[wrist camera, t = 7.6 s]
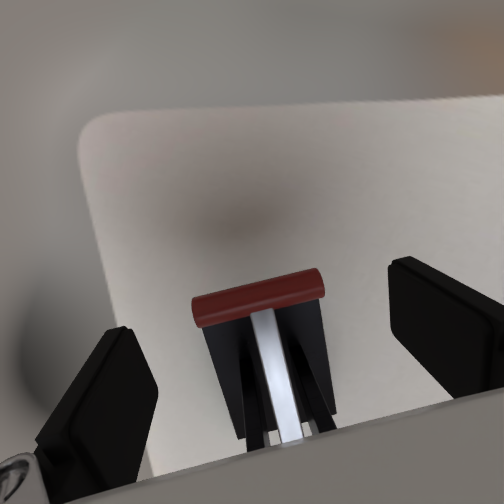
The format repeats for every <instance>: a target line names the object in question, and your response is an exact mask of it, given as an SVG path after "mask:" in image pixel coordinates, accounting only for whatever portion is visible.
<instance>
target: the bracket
mask: <svg viewBox="0 0 504 504" xmlns="http://www.w3.org/2000/svg"><path fill="white" fill-rule="evenodd" d="M274 313H275V317H276V321H277V326H278V330H279V334H280V338H281V342H282V346H283V351H284V355H285V359H286V363H287V367H288V371H289V375H290V380H291V384H292V388H293V392H294V396H295V400H296V404H297V409H298V413H299V417H300V421H301V423H304V422H308V423H309V426H310V429H311V432H312V435H316V434H320V433H324V432H327V431H331V430H335V429H337V427H336V425H335V423H334V420H333V418H332V416H331V415H335V414H337V412H336V405H335V399H334V393H333V386H332V380H331V374H330V367H329V361H328V355H327V348H326V342H325V336H324V329H323V323H322V317H321V310H320V304H319V299H315V300H311V301H307V302H303V303H299V304H295V305H291V306H287V307H283V308H279V309H275V310H274ZM202 330H203V333H204V336H205V340H206V343H207V346H208V349H209V352H210V355H211V358H212V361H213V364H214V367H215V370H216V373H217V377H218V380H219V383H220V386H221V389H222V392H223V395H224V398H225V401H226V404H227V407H228V410H229V414H230V417H231V420H232V423H233V426H234V429H235V432H236V435H237V438H238V440H239V439H243V438H246V447H247V452H251V451H255V450H258V449H262V448H266V447H270V440H269V434H268V432H270V431H274V430H277V429H278V428H277V424H276V420H275V416H274V412H273V408H272V404H271V399H270V395H269V391H268V387H267V383H266V379H265V375H264V371H263V366H262V362H261V358H260V354H259V350H258V346H257V342H256V338H255V334H254V329H253V325H252V321H251V317H250V316H247V317H243V318H239V319H235V320H231V321H227V322H223V323H219V324H215V325H211V326H207V327H203V328H202Z"/></svg>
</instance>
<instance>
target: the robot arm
mask: <svg viewBox="0 0 504 504" xmlns="http://www.w3.org/2000/svg"><path fill="white" fill-rule="evenodd" d="M388 285H389V305H390V325H391V331H392V333H393V335H394V336H395V338H396V339H397V340H398V341H399V342H400V343H401V344H402V345H403V346H404V347H405V348H406V349H407V350H408V351H409V352H410V353H411V354H412V355H413V356H414V357H415V359H416V360H417V361H418V362H419V363H420V364H421V365H422V366H423V367H424V368H425V369H426V370H427V371H428V372H429V373H430V374H431V375H432V376H433V377H434V378H435V379H436V380H437V382H438V383H439V384H440V385H441V386H442V387H443V388H444V389H445V390H446V391H447V392H448V393H449V394H450V395H451V396H452V397H453V398H454V399H453V400H449V401H445V402H441V403H437V404H433V405H429V406H425V407H421V408H417V409H413V410H409V411H405V412H401V413H397V414H393V415H390V416H386V417H382V418H378V419H374V420H370V421H366V422H362V423H358V424H354V425H350V426H347V427H343V428H339V429H335V430H331V431H327V432H324V433H320V434H316V435H312V436H308V437H304V438H300V439H297V440H293V441H289V442H285V443H281V444H278V445H274V446H270V447H266V448H262V449H258V450H255V451H251V452H247V453H243V454H239V455H236V456H232V457H228V458H224V459H221V460H217V461H213V462H210V463H206V464H202V465H198V466H195V467H191V468H187V469H183V470H180V471H176V472H172V473H168V474H165V475H161V476H157V477H153V478H150V479H146V480H142V481H140V482H136V480H137V476H138V472H139V468H140V464H141V461H142V457H143V453H144V449H145V445H146V441H147V438H148V434H149V430H150V426H151V422H152V418H153V415H154V411H155V407H156V403H157V399H158V387H157V384H156V382H155V380H154V377H153V375H152V373H151V370H150V368H149V366H148V363H147V361H146V359H145V357H144V354H143V352H142V350H141V347H140V345H139V343H138V341H137V338H136V336H135V334H134V332H133V330H132V329H128V328H127V327H125V326H122V327H118V328H114V329H110V330H107V331H106V332H105V333H104V335H103V336H102V338H101V339H100V341H99V342H98V344H97V345H96V347H95V349H94V350H93V352H92V353H91V355H90V356H89V358H88V359H87V361H86V362H85V364H84V366H83V367H82V368H81V370H80V371H79V373H78V374H77V376H76V377H75V379H74V381H73V382H72V384H71V385H70V387H69V388H68V390H67V391H66V393H65V394H64V396H63V397H62V399H61V401H60V402H59V403H58V405H57V407H56V408H55V410H54V411H53V413H52V414H51V416H50V417H49V419H48V420H47V422H46V423H45V425H44V426H43V428H42V429H41V431H40V433H39V434H38V436H37V437H36V439H35V441H36V442H37V444H38V446H37V448H36V450H35V451H34V453H27V452H26V453H21V454H17V455H15V456H13V457H10V458H8V459H6V460H5V461H3V462H1V463H0V504H504V305H502V304H500V303H498V302H496V301H495V300H493V299H491V298H489V297H487V296H485V295H483V294H481V293H479V292H478V291H476V290H474V289H472V288H470V287H468V286H466V285H464V284H463V283H461V282H459V281H457V280H455V279H453V278H451V277H449V276H447V275H446V274H444V273H442V272H440V271H438V270H436V269H434V268H432V267H431V266H429V265H427V264H425V263H423V262H421V261H419V260H417V259H415V258H414V257H411V256H407V257H403V258H399V259H395V260H393V261H392V263H391V265H389V266H388Z"/></svg>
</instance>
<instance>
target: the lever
mask: <svg viewBox="0 0 504 504" xmlns="http://www.w3.org/2000/svg"><path fill="white" fill-rule="evenodd" d="M324 296H325V288H324V283H323V279H322V277H321V274H320V272H319V271H318V269H317V268H311V269H307V270H303V271H299V272H295V273H291V274H287V275H283V276H279V277H275V278H271V279H267V280H263V281H258V282H254V283H250V284H246V285H242V286H238V287H234V288H230V289H226V290H222V291H218V292H214V293H210V294H206V295H201V296H197V297H194V298H192V303H191V306H192V313H193V318H194V321H195V323H196V325H197V327H198V328H203V327H207V326H211V325H215V324H219V323H223V322H227V321H231V320H235V319H239V318H243V317H247V316H250V317H251V321H252V325H253V329H254V334H255V338H256V342H257V346H258V350H259V354H260V358H261V362H262V366H263V371H264V375H265V379H266V383H267V387H268V391H269V395H270V399H271V404H272V408H273V412H274V416H275V420H276V424H277V428H278V432H279V437H280V441H281V443H285V442H289V441H293V440H297V439H300V438H304V433H303V429H302V425H301V421H300V417H299V413H298V409H297V404H296V400H295V396H294V392H293V388H292V384H291V380H290V375H289V371H288V367H287V363H286V359H285V355H284V351H283V346H282V342H281V338H280V334H279V330H278V326H277V321H276V317H275V313H274V310H275V309H279V308H283V307H287V306H291V305H295V304H299V303H303V302H307V301H311V300H315V299H319V298H323V297H324Z"/></svg>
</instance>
